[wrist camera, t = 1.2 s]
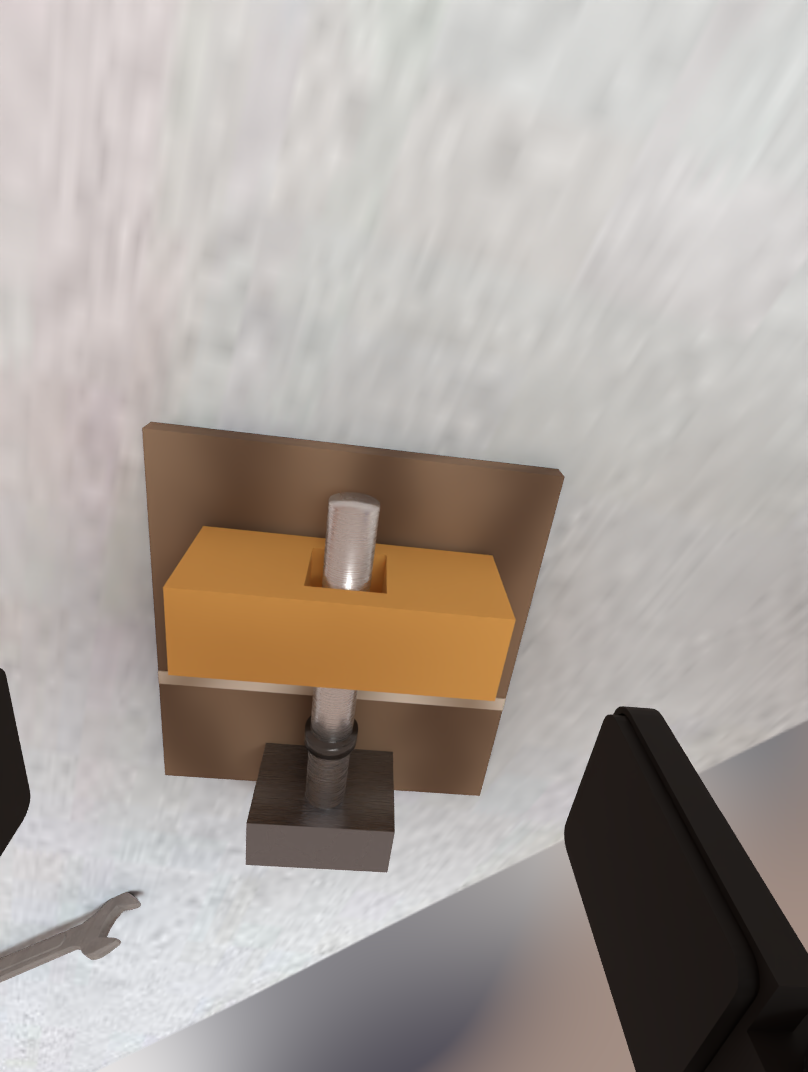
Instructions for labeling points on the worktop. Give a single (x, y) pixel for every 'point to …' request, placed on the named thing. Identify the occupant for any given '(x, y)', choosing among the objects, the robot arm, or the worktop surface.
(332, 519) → the grey block with rod
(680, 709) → the worktop surface
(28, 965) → the combination wrench
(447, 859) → the worktop surface
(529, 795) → the worktop surface
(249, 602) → the collar
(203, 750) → the pipe board
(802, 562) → the worktop surface
